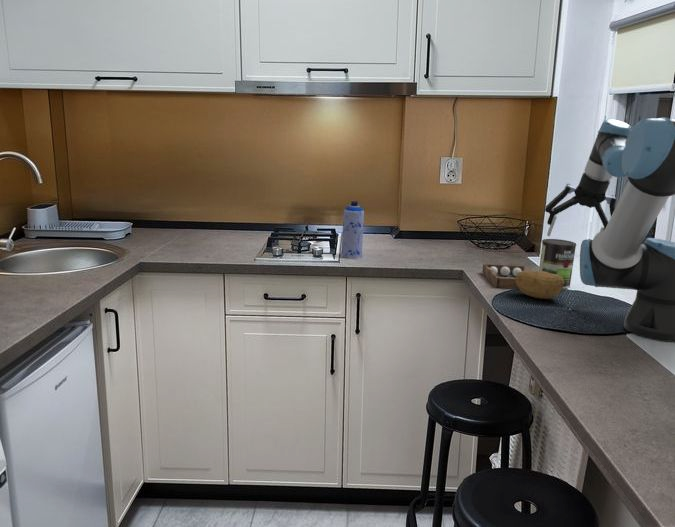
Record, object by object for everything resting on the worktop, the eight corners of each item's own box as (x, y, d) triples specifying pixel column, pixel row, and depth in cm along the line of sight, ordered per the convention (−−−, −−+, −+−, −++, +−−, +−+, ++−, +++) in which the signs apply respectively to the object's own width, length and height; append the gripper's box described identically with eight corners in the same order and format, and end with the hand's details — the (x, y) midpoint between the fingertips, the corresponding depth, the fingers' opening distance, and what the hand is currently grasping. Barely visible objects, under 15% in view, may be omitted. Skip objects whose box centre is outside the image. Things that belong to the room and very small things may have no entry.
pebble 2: (510, 277, 209) (511, 267, 208) (501, 276, 209) (502, 267, 208) (508, 274, 212) (509, 265, 211) (498, 274, 212) (499, 265, 211)
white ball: (522, 277, 209) (523, 268, 208) (513, 277, 209) (514, 268, 208) (519, 275, 212) (520, 266, 211) (510, 275, 212) (511, 266, 211)
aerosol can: (356, 253, 233) (359, 199, 228) (365, 258, 226) (369, 203, 221) (337, 254, 230) (340, 200, 225) (346, 259, 223) (349, 203, 218)
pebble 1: (498, 276, 209) (499, 267, 208) (489, 276, 209) (490, 267, 208) (496, 274, 212) (497, 265, 211) (487, 273, 212) (488, 265, 211)
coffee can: (577, 288, 198) (583, 245, 195) (548, 289, 196) (554, 245, 192) (557, 280, 208) (563, 238, 205) (530, 280, 205) (535, 238, 202)
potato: (520, 289, 194) (523, 264, 192) (566, 299, 185) (569, 273, 183) (507, 295, 186) (510, 269, 184) (554, 306, 178) (558, 279, 176)
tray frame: (540, 289, 195) (541, 280, 194) (496, 287, 194) (497, 278, 194) (522, 274, 213) (523, 265, 213) (482, 272, 213) (483, 263, 212)
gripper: (643, 182, 174) (614, 246, 186) (552, 159, 180) (530, 223, 191) (644, 192, 168) (615, 258, 180) (551, 168, 174) (528, 234, 185)
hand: (571, 240), depth 185 cm, fingers open, 13 cm apart
